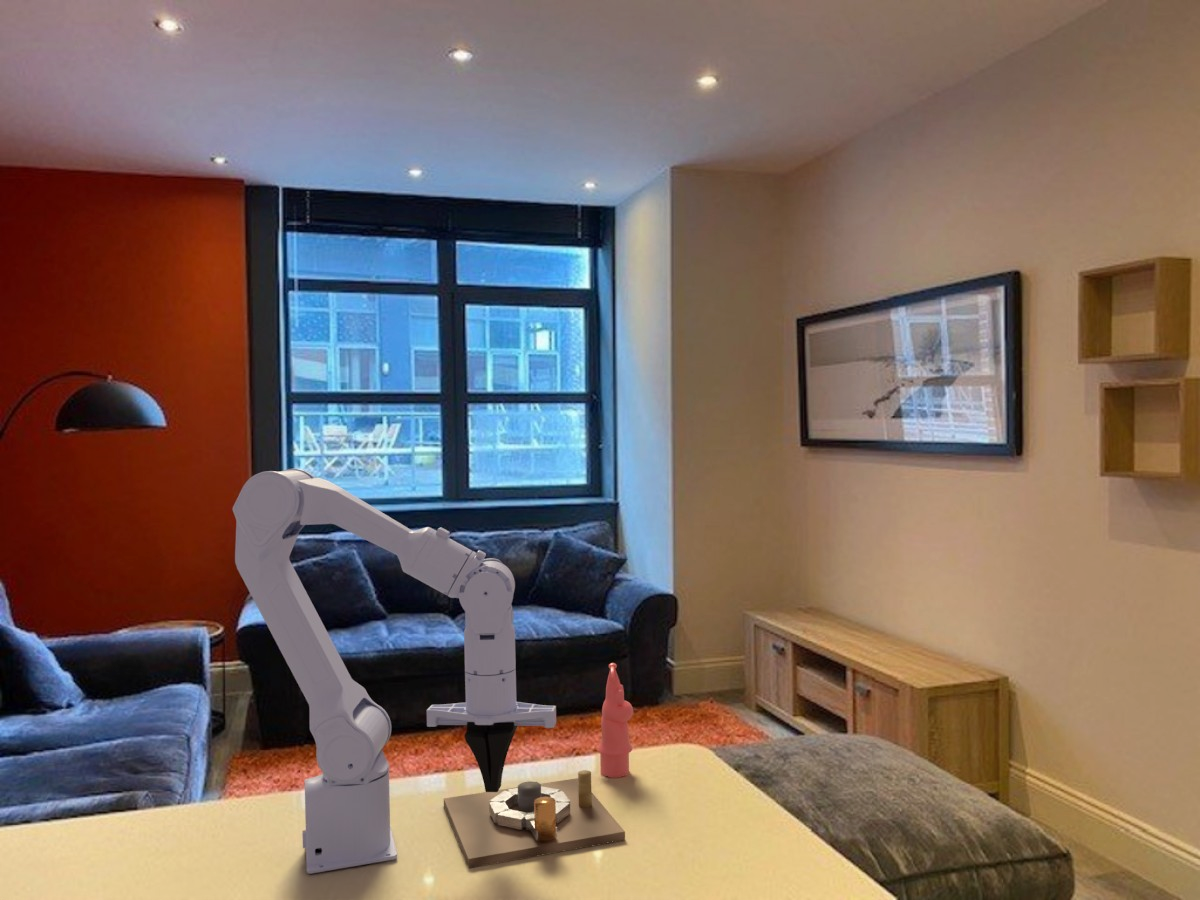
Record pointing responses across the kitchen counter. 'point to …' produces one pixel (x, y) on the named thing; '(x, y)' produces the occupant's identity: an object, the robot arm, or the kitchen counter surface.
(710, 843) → the kitchen counter surface
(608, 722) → the figurine
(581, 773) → the peg base
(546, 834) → the white segmented ring
